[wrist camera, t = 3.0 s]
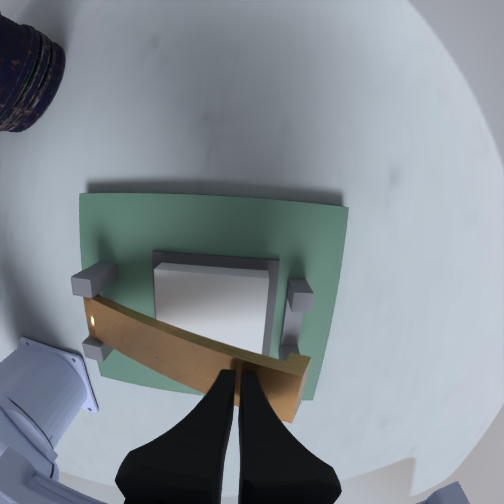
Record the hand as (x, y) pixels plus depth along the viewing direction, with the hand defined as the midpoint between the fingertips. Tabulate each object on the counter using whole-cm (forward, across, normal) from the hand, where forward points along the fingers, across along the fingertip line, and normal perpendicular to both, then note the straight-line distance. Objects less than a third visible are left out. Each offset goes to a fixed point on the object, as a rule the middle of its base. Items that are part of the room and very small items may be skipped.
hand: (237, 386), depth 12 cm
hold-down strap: (+3, +3, 0) cm, 5 cm away
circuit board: (+9, +3, 0) cm, 9 cm away
